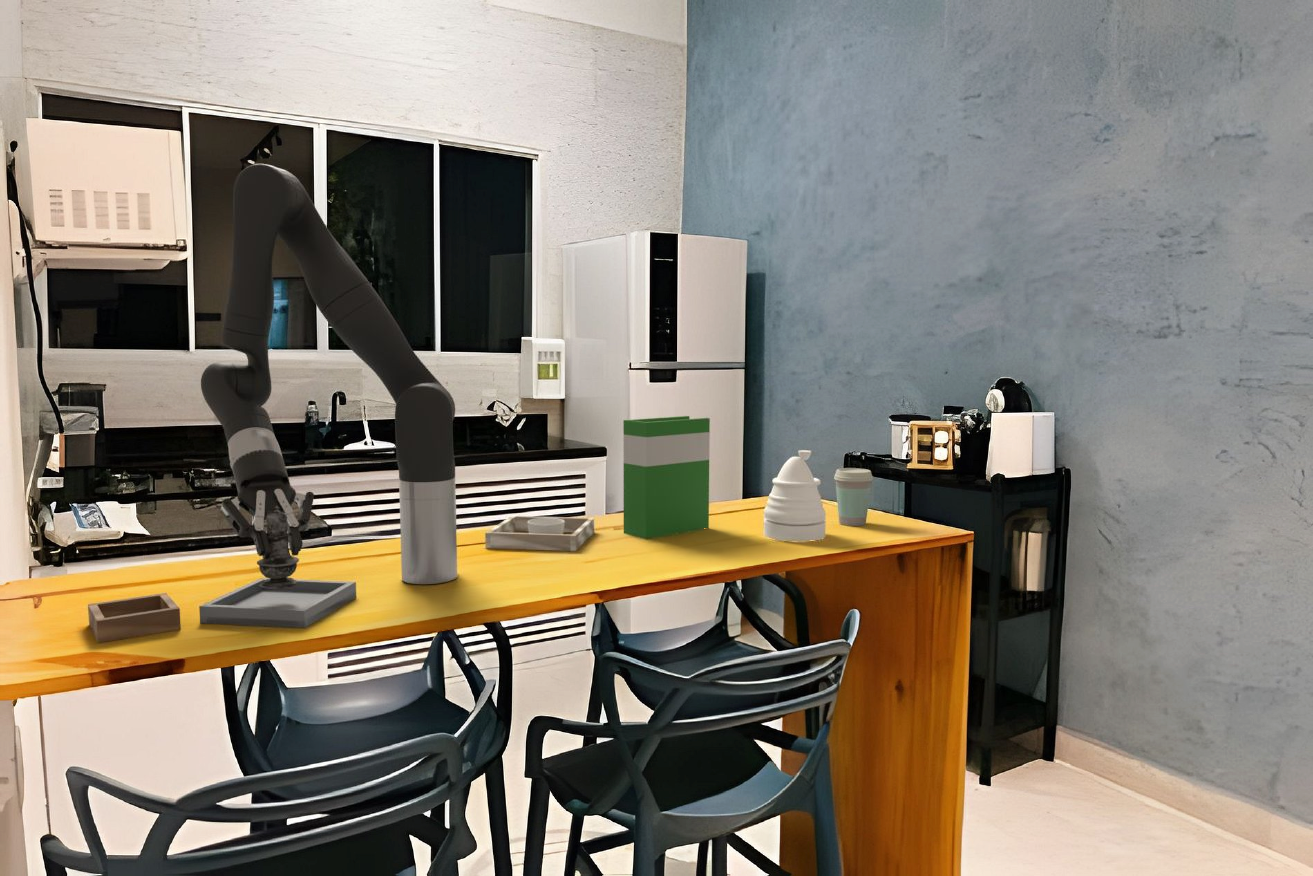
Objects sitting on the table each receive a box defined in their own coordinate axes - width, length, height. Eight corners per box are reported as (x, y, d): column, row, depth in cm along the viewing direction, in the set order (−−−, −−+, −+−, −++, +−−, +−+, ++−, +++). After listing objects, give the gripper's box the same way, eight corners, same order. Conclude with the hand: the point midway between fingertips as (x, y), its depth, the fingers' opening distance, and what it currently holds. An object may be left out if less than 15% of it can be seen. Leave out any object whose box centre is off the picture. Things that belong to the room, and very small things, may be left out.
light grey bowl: (567, 550, 182) (567, 526, 181) (516, 549, 182) (516, 525, 182) (574, 539, 192) (574, 516, 191) (526, 538, 192) (526, 516, 192)
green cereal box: (686, 523, 208) (686, 416, 206) (708, 528, 203) (709, 418, 200) (623, 533, 197) (623, 420, 194) (645, 539, 191) (645, 422, 189)
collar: (89, 624, 133) (87, 604, 132) (167, 612, 139) (166, 592, 138) (98, 643, 125) (96, 621, 125) (180, 629, 131) (179, 608, 131)
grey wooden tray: (512, 529, 200) (511, 515, 200) (594, 532, 198) (594, 518, 198) (485, 548, 183) (485, 532, 182) (575, 551, 180) (575, 535, 180)
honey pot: (834, 533, 197) (836, 449, 196) (812, 545, 186) (813, 455, 185) (777, 527, 204) (779, 445, 202) (753, 538, 193) (754, 451, 191)
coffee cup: (866, 519, 213) (867, 467, 211) (876, 527, 204) (878, 473, 203) (829, 520, 212) (830, 467, 211) (837, 527, 204) (838, 473, 203)
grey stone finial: (282, 577, 144) (280, 500, 143) (308, 582, 141) (306, 504, 140) (248, 585, 139) (246, 506, 138) (274, 591, 136) (272, 510, 135)
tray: (261, 593, 149) (261, 578, 149) (356, 597, 147) (355, 581, 147) (200, 623, 134) (199, 606, 133) (304, 628, 132) (304, 610, 131)
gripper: (212, 451, 140) (234, 546, 131) (308, 445, 148) (335, 534, 140) (205, 481, 144) (227, 574, 136) (299, 474, 153) (324, 562, 145)
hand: (282, 553), depth 138 cm, fingers closed on grey stone finial, 3 cm apart
